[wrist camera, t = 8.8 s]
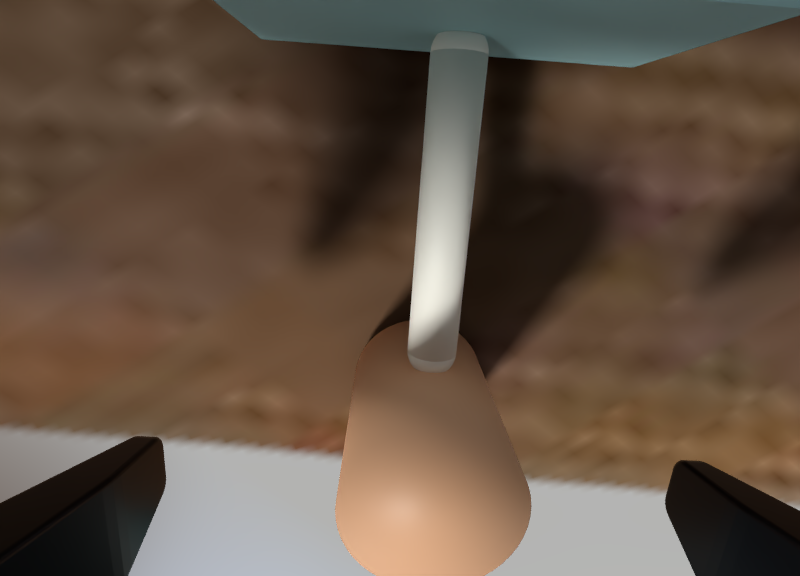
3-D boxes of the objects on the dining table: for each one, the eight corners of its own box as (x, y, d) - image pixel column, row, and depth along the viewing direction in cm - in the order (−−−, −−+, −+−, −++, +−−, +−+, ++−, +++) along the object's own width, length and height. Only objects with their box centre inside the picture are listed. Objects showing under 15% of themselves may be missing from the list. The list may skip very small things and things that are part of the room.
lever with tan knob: (655, -171, 9) (973, -545, 4) (547, 438, 12) (644, 621, 7) (269, -208, 8) (116, -657, 4) (275, 425, 12) (202, 608, 7)
